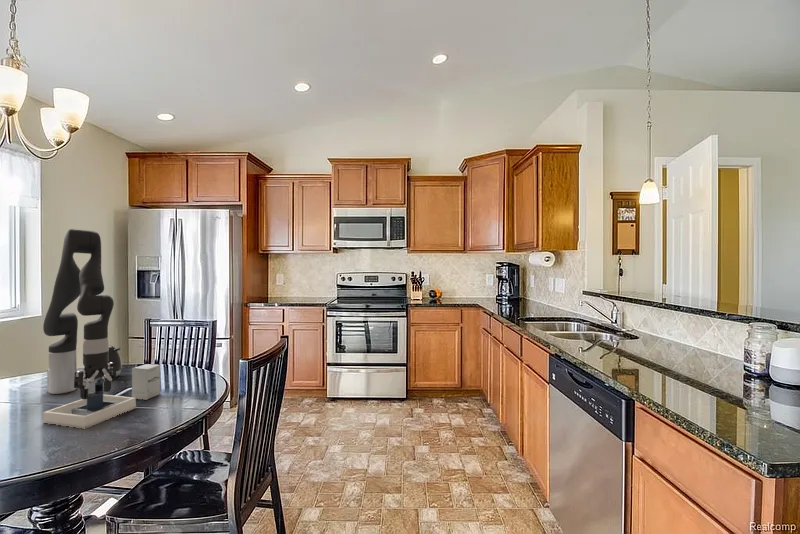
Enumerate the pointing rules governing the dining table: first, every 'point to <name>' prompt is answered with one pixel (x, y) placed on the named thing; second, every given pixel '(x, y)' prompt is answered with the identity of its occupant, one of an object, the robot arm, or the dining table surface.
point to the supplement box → (145, 381)
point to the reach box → (66, 417)
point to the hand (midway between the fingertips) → (96, 395)
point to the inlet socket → (83, 410)
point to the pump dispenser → (115, 359)
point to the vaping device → (96, 397)
